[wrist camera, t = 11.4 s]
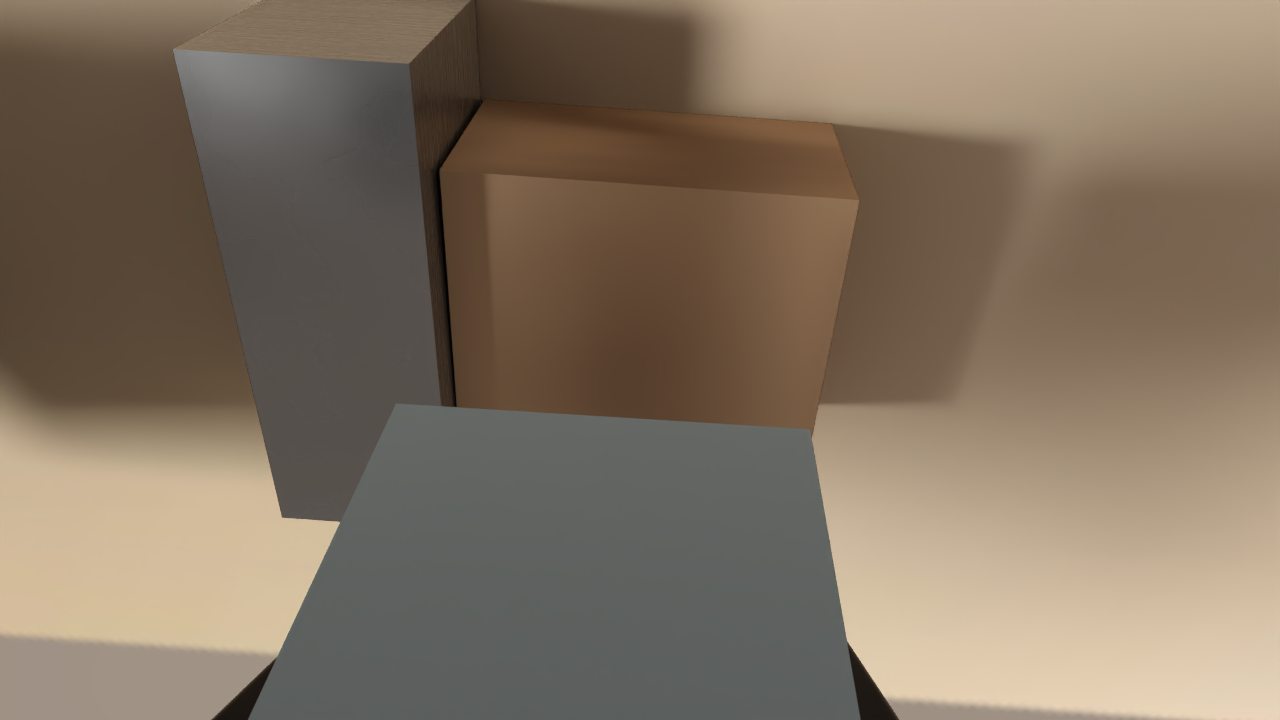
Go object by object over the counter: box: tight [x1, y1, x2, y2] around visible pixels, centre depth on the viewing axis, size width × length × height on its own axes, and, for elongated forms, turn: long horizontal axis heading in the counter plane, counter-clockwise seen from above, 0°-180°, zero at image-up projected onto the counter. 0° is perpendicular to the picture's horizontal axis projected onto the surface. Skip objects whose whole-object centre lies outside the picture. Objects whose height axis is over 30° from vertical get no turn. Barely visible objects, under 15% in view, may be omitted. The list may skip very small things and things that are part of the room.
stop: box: [173, 0, 481, 522], centre depth 15 cm, size 3×8×4 cm, turn 178°
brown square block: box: [440, 99, 860, 438], centre depth 16 cm, size 6×6×4 cm
